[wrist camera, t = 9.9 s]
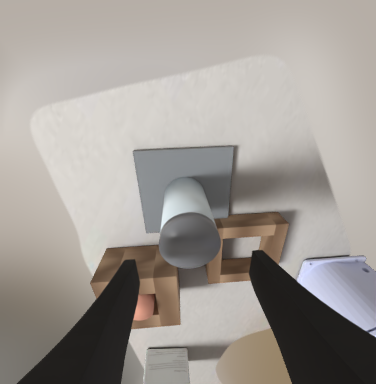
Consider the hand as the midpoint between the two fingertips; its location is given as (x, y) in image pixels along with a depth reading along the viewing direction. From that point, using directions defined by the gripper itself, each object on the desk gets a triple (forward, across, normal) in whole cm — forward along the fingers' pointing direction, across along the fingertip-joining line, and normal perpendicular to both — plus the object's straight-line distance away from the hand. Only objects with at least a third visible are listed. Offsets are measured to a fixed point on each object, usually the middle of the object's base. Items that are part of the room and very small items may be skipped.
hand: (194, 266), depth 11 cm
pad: (+10, 0, 0) cm, 10 cm away
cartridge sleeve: (+10, -7, +8) cm, 15 cm away
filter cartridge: (+10, 0, 0) cm, 10 cm away
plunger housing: (+10, +6, +12) cm, 17 cm away
